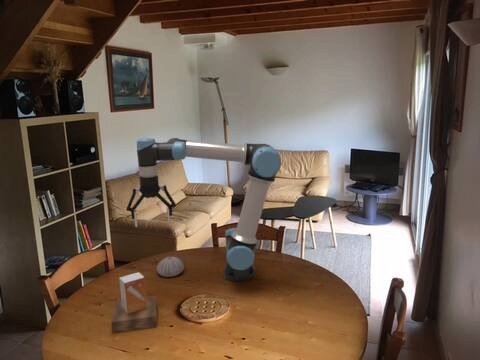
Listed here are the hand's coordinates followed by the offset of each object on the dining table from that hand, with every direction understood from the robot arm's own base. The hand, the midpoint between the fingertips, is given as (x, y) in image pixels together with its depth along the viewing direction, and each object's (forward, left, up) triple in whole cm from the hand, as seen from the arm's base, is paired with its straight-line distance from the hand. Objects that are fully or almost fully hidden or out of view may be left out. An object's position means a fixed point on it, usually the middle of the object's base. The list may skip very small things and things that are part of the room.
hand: (152, 224), depth 172 cm
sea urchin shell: (-6, -20, -32) cm, 38 cm away
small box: (+9, +19, -27) cm, 35 cm away
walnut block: (+9, +19, -32) cm, 39 cm away
